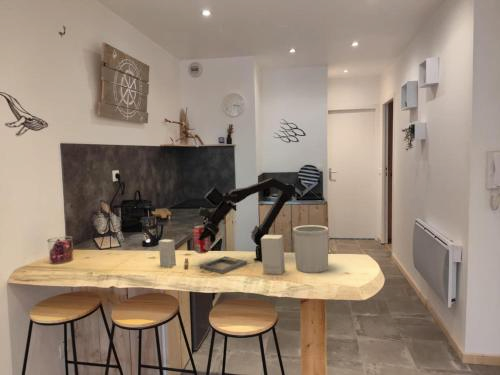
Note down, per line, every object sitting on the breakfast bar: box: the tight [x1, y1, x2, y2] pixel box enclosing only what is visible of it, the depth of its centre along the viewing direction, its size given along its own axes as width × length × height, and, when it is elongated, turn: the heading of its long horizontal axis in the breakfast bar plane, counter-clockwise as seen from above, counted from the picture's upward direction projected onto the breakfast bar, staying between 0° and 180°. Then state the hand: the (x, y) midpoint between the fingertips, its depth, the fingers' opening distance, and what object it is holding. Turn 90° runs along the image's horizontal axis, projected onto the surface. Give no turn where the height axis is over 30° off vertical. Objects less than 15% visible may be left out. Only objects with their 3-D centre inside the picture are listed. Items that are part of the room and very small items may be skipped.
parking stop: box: [183, 257, 189, 270], centre depth 167 cm, size 10×2×2 cm, turn 8°
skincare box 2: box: [261, 234, 286, 276], centre depth 153 cm, size 8×7×16 cm
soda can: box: [193, 224, 211, 255], centre depth 166 cm, size 7×7×12 cm
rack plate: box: [199, 256, 248, 275], centre depth 164 cm, size 14×16×2 cm
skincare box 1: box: [158, 238, 177, 268], centre depth 168 cm, size 6×4×12 cm
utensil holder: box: [292, 224, 329, 274], centre depth 157 cm, size 15×15×18 cm
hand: (198, 238), depth 165 cm, fingers closed on soda can, 7 cm apart
